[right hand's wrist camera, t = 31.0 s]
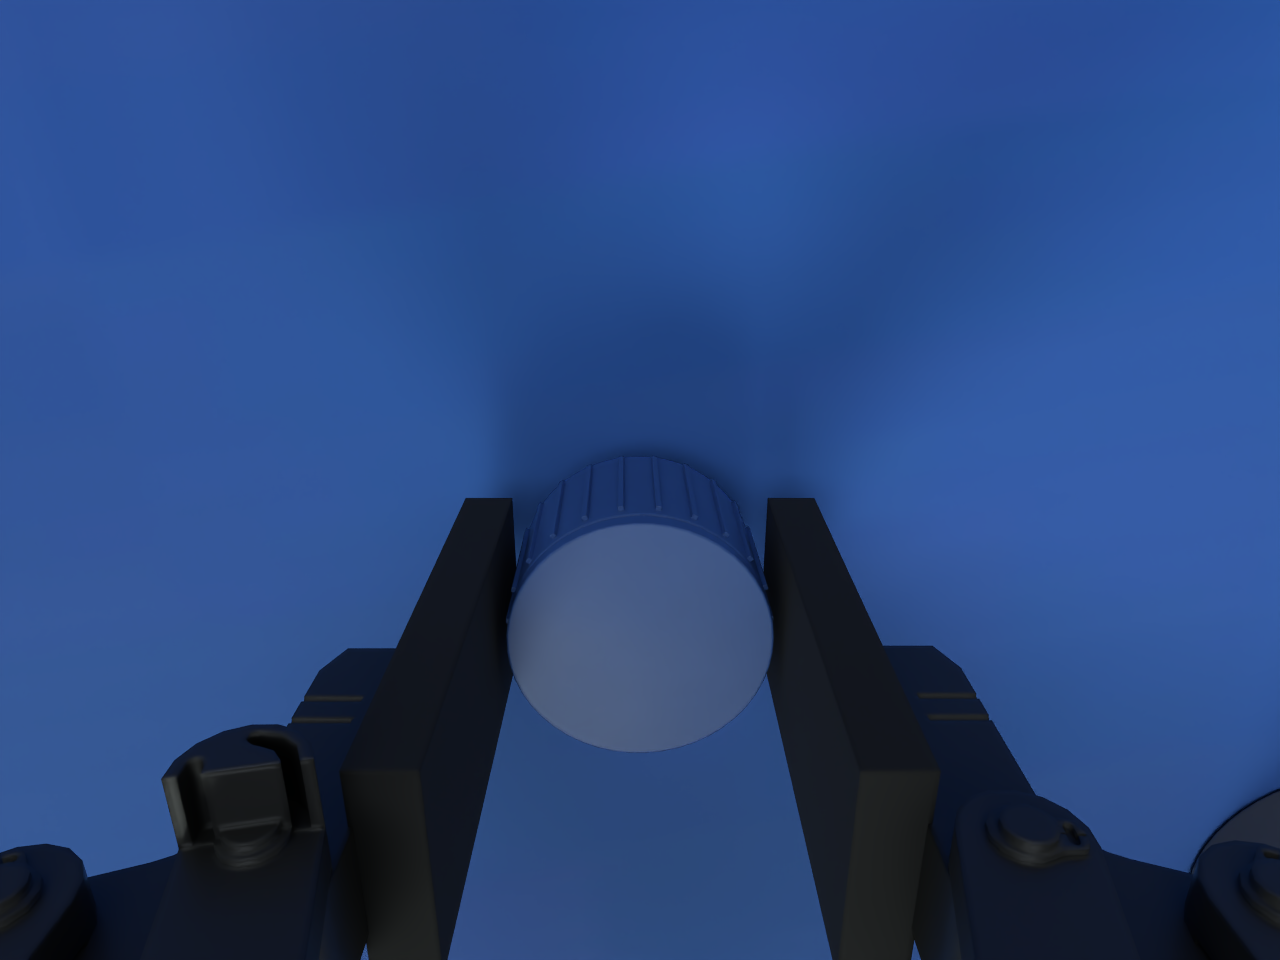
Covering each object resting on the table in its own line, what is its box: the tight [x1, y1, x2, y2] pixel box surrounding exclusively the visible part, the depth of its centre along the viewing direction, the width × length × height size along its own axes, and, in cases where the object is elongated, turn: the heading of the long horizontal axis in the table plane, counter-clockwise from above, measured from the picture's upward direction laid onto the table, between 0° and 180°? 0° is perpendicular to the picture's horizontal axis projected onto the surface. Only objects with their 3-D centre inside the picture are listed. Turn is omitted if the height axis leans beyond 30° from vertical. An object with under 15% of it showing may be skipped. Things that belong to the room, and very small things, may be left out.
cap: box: [506, 456, 774, 753], centre depth 14 cm, size 4×4×3 cm
